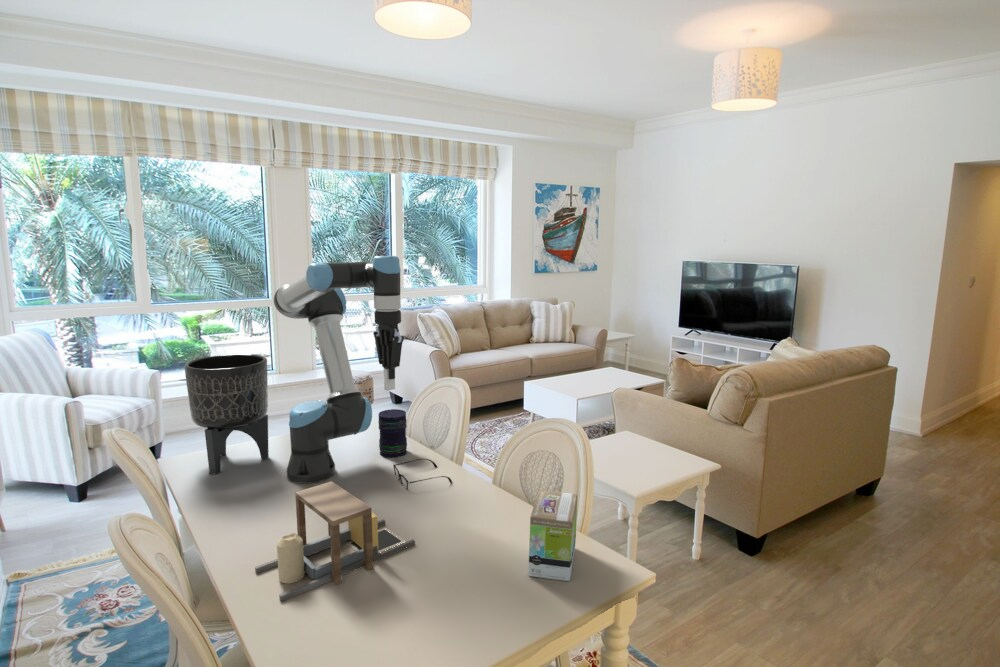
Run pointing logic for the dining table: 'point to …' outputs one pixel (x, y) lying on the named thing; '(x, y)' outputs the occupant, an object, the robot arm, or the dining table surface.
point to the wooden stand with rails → (335, 531)
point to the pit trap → (381, 541)
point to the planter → (229, 401)
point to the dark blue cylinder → (392, 433)
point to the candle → (290, 558)
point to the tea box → (552, 535)
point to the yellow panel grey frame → (351, 533)
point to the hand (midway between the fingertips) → (389, 389)
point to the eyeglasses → (418, 480)
